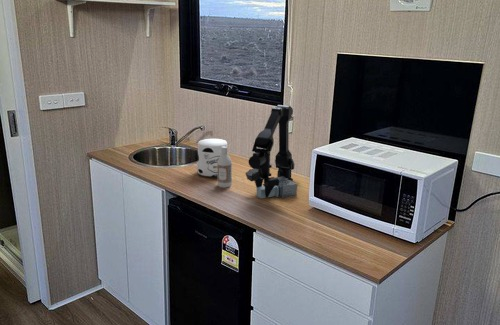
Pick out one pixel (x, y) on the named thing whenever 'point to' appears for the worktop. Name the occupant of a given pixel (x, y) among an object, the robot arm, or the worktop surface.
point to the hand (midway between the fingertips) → (262, 194)
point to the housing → (286, 187)
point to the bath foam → (224, 169)
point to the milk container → (209, 156)
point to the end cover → (261, 192)
